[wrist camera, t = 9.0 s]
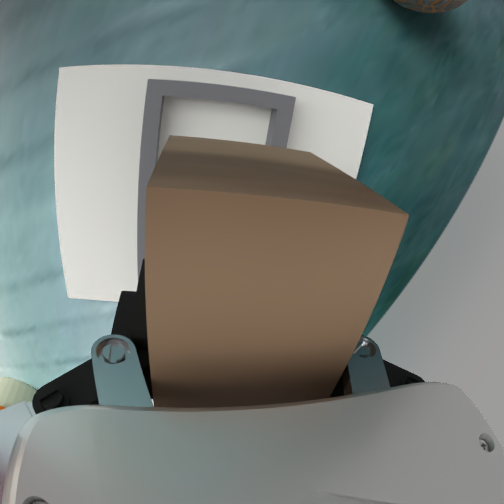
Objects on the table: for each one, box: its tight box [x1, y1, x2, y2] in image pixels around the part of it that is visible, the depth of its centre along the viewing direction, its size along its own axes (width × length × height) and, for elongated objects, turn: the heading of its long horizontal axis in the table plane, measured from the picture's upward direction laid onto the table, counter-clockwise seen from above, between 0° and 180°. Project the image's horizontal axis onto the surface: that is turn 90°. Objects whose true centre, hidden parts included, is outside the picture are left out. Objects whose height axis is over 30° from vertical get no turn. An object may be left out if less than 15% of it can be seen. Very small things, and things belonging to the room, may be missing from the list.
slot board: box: [54, 64, 373, 302], centre depth 21 cm, size 22×18×2 cm
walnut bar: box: [145, 135, 409, 408], centre depth 11 cm, size 12×5×6 cm, turn 171°
